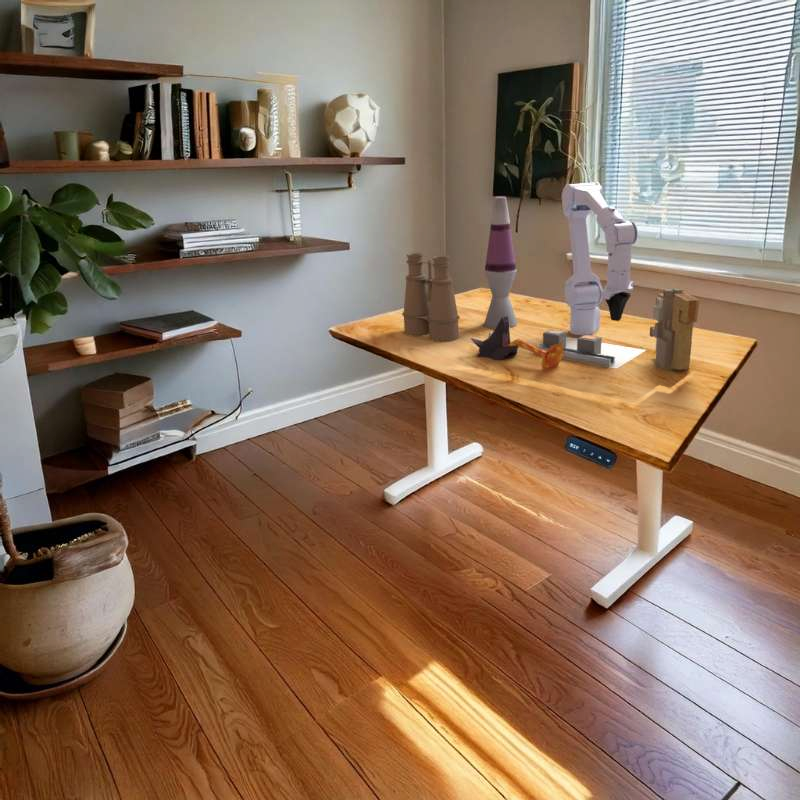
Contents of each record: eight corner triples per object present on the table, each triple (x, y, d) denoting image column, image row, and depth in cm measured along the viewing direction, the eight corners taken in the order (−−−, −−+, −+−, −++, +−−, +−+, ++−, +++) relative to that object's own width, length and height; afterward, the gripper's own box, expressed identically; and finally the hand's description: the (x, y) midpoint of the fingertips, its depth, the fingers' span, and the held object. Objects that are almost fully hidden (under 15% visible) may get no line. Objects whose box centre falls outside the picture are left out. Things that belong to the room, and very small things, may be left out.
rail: (540, 350, 192) (540, 343, 192) (614, 364, 178) (614, 356, 178) (534, 353, 190) (535, 346, 190) (609, 367, 176) (609, 359, 176)
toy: (669, 358, 184) (676, 284, 177) (697, 379, 168) (706, 299, 161) (645, 359, 184) (651, 285, 176) (671, 381, 168) (679, 301, 161)
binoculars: (466, 336, 213) (464, 255, 204) (445, 344, 207) (442, 261, 198) (417, 326, 227) (414, 250, 218) (396, 333, 221) (392, 255, 211)
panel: (561, 339, 204) (561, 335, 204) (646, 354, 188) (646, 350, 187) (528, 356, 192) (528, 351, 192) (616, 373, 176) (616, 368, 175)
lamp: (478, 322, 227) (476, 197, 212) (508, 318, 230) (508, 194, 215) (492, 330, 217) (491, 199, 203) (523, 326, 220) (524, 196, 205)
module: (583, 352, 189) (584, 334, 187) (600, 355, 186) (601, 336, 184) (576, 356, 186) (577, 337, 184) (593, 359, 183) (594, 340, 181)
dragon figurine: (543, 348, 171) (472, 310, 187) (534, 389, 178) (465, 350, 193) (569, 338, 178) (497, 303, 193) (559, 378, 184) (490, 341, 199)
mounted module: (550, 346, 195) (550, 328, 193) (565, 349, 192) (566, 331, 190) (542, 350, 192) (543, 332, 190) (558, 353, 189) (559, 335, 187)
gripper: (620, 276, 173) (617, 328, 178) (645, 266, 183) (641, 315, 188) (595, 273, 177) (592, 324, 182) (620, 263, 187) (617, 312, 192)
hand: (615, 320), depth 185 cm, fingers closed
